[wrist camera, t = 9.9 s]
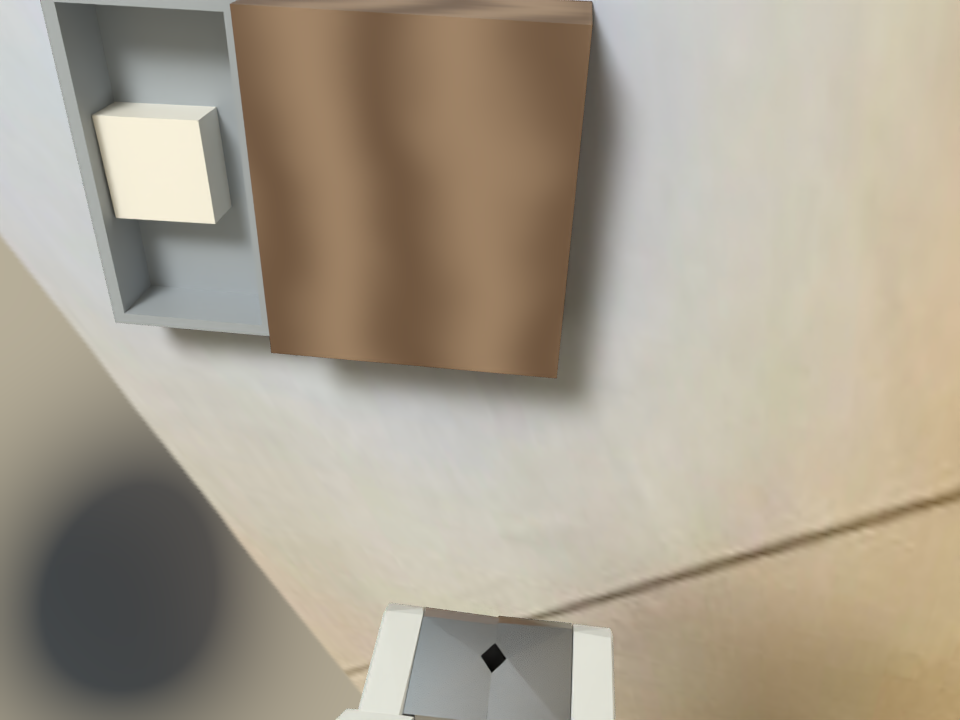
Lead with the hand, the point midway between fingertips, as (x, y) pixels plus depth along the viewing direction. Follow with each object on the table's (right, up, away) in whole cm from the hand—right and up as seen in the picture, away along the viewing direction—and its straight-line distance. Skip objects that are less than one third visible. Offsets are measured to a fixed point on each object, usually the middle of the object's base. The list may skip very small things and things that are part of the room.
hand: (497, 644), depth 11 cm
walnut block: (-3, +13, +29) cm, 32 cm away
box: (-14, +14, +30) cm, 36 cm away
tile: (-15, +13, +28) cm, 34 cm away
